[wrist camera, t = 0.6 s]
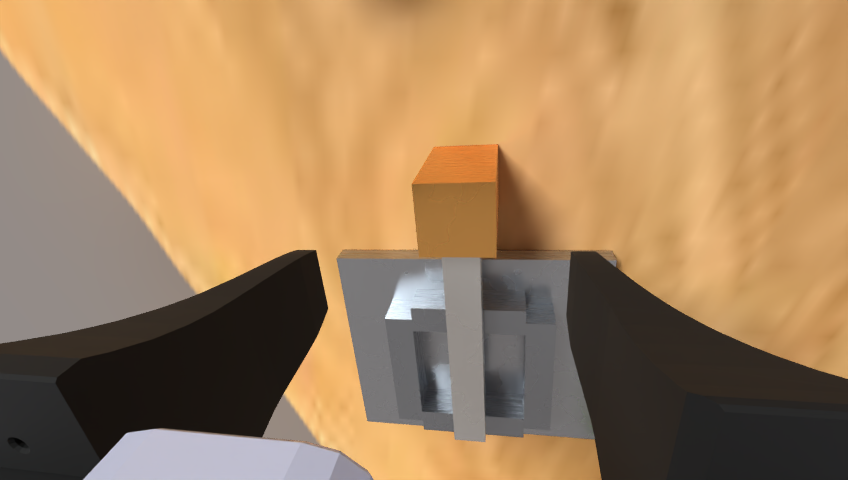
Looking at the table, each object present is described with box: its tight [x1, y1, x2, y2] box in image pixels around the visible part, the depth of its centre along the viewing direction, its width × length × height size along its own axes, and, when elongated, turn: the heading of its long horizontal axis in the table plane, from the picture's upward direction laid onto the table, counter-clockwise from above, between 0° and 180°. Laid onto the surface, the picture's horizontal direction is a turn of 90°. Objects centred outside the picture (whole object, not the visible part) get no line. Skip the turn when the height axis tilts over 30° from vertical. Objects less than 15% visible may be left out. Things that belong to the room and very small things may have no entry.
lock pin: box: [412, 144, 498, 442], centre depth 21 cm, size 3×14×6 cm, turn 5°
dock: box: [337, 250, 617, 439], centre depth 24 cm, size 14×12×3 cm
